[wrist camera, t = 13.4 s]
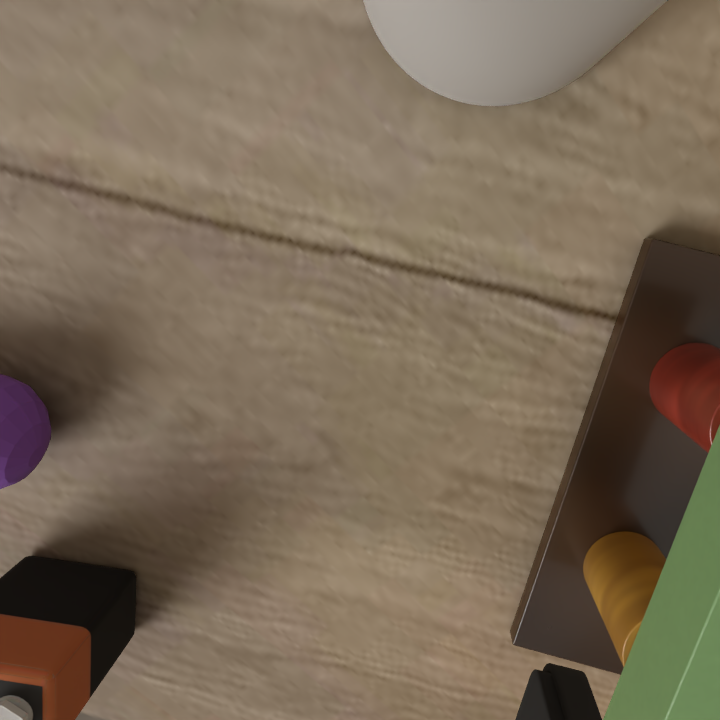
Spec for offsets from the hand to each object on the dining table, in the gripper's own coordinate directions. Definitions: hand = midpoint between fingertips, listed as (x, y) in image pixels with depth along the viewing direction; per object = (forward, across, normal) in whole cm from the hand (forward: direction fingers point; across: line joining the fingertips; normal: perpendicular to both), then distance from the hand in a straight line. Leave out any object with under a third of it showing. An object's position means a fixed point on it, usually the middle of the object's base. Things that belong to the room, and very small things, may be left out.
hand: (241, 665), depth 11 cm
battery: (+24, +13, +18) cm, 33 cm away
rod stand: (+24, -16, +3) cm, 28 cm away
